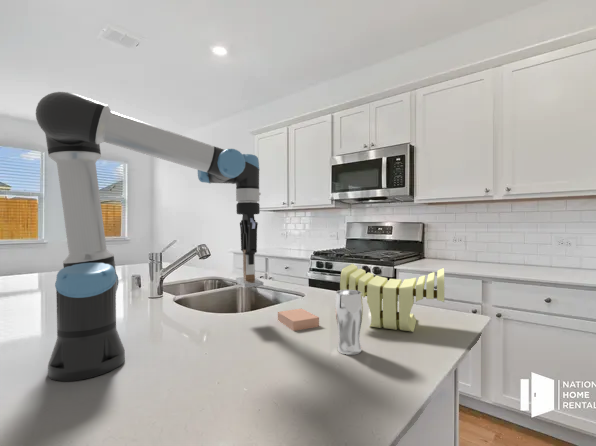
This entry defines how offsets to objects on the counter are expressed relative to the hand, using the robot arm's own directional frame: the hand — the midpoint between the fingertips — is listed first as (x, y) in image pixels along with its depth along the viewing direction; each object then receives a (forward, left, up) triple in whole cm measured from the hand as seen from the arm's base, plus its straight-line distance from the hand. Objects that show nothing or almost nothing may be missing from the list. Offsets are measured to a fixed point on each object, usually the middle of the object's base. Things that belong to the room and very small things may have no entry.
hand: (248, 273), depth 109 cm
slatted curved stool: (-22, -41, -16) cm, 49 cm away
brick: (-2, -14, -15) cm, 20 cm away
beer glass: (-34, -17, -16) cm, 41 cm away
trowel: (0, 0, -3) cm, 3 cm away
